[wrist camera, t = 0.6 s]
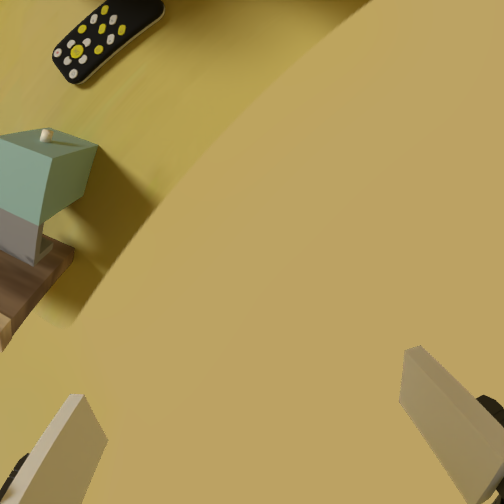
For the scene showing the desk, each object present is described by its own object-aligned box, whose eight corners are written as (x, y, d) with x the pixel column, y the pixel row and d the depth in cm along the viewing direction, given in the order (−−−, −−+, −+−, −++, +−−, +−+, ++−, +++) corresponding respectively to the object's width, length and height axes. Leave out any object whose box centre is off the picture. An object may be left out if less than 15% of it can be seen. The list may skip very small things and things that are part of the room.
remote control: (171, 13, 24) (168, 7, 22) (78, 90, 26) (71, 89, 24) (141, -19, 22) (137, -26, 20) (53, 56, 24) (45, 54, 22)
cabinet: (51, 119, 27) (-2, 125, 17) (101, 136, 28) (55, 146, 19) (30, 208, 30) (-18, 239, 21) (75, 228, 32) (33, 266, 23)
